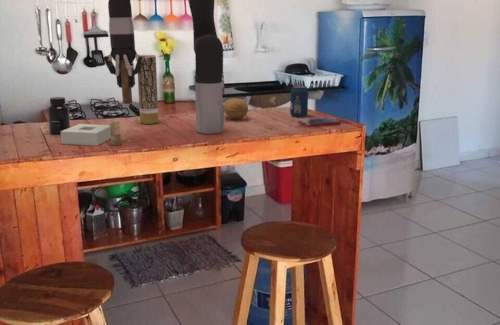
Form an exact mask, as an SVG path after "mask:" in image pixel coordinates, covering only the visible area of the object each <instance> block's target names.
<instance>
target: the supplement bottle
mask: <svg viewBox="0 0 500 325" xmlns="http://www.w3.org/2000/svg"><path fill="white" fill-rule="evenodd" d="M49 104H50V105H49V106H48V107H47V115H48V116H47V117H48V118H47V119H48V130H49V133H50V134H51V135H61V132H60V131H63V130H65V129H68V128H70V127H71V120H70V108H69V106H68V105H66V98H65V97H63V96H59V97H58V96H55V97H50V98H49Z"/></svg>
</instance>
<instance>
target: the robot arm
mask: <svg viewBox="0 0 500 325" xmlns="http://www.w3.org/2000/svg"><path fill="white" fill-rule="evenodd" d="M215 1H216V0H188V5H189V6H188V7H189V9H190V10H189V12H190V14H191V18H192V19H191V20H192V27H193V28H192V29H193V30H192V31H193V32H192V33H193V34H192V35H193V51H194V54H195V56H194V58H195V60H194V61H195V70H194V71H195V72H194V81H195V82H194V89H195V90H194V91H195V93H194V94H195V130H196V133H198V134H203V135H204V134H206V135H211V134H221V133H223V132H224V130H225V112H224V104H225V103H224V102H223V74H224V47H223V42H222V41H221V39H220V38H219V37H218V34H217V28H216V24H215ZM107 6H108V7H107V10H108V17H109V18H108V21H109V22H108V28H109V29H108V31H109V32H108V33H109V40H110V48H111V51H110V54H108V55H105V56H104V57H102V58H103V61H104V63H105V65H106V67H107V69H108V71H109V73H110V74H111V75H114V76H115V77H116V85H117V86H118V88H119V89H122V85H121V73H120V60H125V64H126V68H127V70H128V74H129V76H128V78H129V87H130V88H131V89H133V88H134V87H135V85H136V78H135V76H136V75H138V73H140V71H141V68H142V65H143V62H144V59H145V57H144V56H140V55H141V54H138V53H137V52H138V51H136V40H135V27H134V21H133V12H132V11H133V10H132V3H131V0H108V3H107ZM113 60H114V62H115V64H114V63H113ZM135 60H136V63H135V65H134V61H135Z"/></svg>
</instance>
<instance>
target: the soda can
mask: <svg viewBox="0 0 500 325" xmlns="http://www.w3.org/2000/svg"><path fill="white" fill-rule="evenodd" d="M308 110H309V89H308V87H307V86H306V85H292V88H291V90H290V110H289V113H290V115H291V117H292V118H300V119H301V118H306V117H307V115H308Z"/></svg>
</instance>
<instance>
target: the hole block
mask: <svg viewBox="0 0 500 325" xmlns="http://www.w3.org/2000/svg"><path fill="white" fill-rule="evenodd" d="M60 132H61V134H60V138H61V145H76V146H77V145H79V146H96V147H97V146H99V145H101V144H103V143H105V142H107V141H109V140H111V133H110V124H88V123H78V124H76V125H73V126H70V128H68V129H65V130H63V131H60Z"/></svg>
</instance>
